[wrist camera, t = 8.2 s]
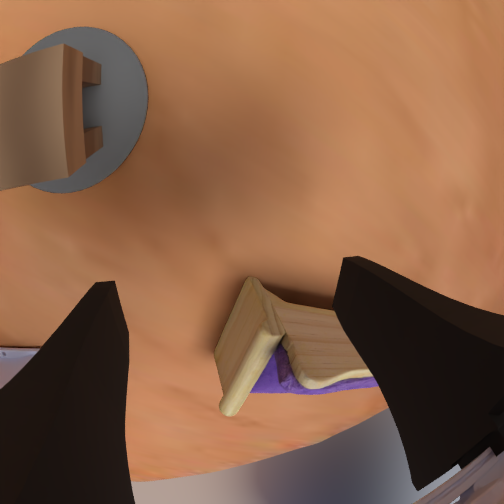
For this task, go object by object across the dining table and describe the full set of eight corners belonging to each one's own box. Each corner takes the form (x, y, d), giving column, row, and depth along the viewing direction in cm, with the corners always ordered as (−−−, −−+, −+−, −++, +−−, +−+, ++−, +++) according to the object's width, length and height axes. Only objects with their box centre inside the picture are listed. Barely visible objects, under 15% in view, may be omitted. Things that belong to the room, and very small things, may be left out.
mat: (11, 200, 14) (7, 203, 14) (1, 53, 9) (-4, 52, 9) (151, 180, 17) (150, 183, 16) (151, 17, 12) (150, 14, 11)
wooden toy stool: (30, 161, 13) (-28, 197, 8) (26, 80, 11) (-38, 81, 5) (104, 148, 14) (68, 177, 9) (103, 62, 12) (63, 43, 6)
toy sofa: (204, 352, 25) (228, 457, 16) (239, 270, 22) (286, 385, 13) (371, 359, 33) (413, 422, 24) (411, 304, 30) (467, 365, 21)
